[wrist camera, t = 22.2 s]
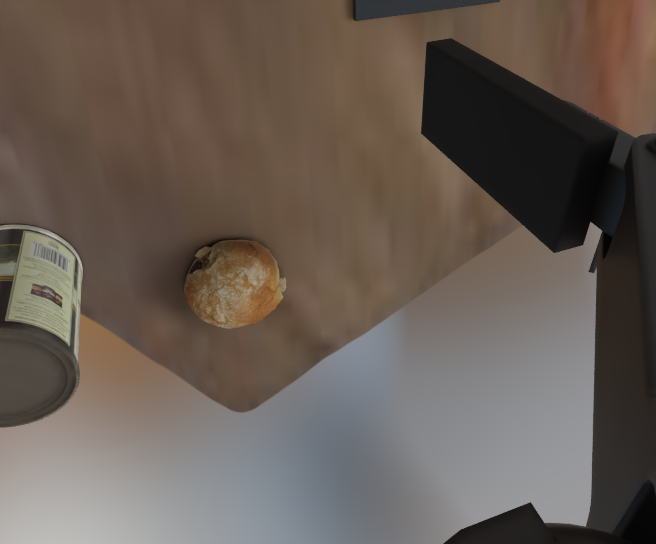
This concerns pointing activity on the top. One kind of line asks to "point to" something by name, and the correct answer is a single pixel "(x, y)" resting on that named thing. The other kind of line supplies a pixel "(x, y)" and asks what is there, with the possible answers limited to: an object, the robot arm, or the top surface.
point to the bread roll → (233, 283)
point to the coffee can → (37, 323)
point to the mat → (405, 7)
